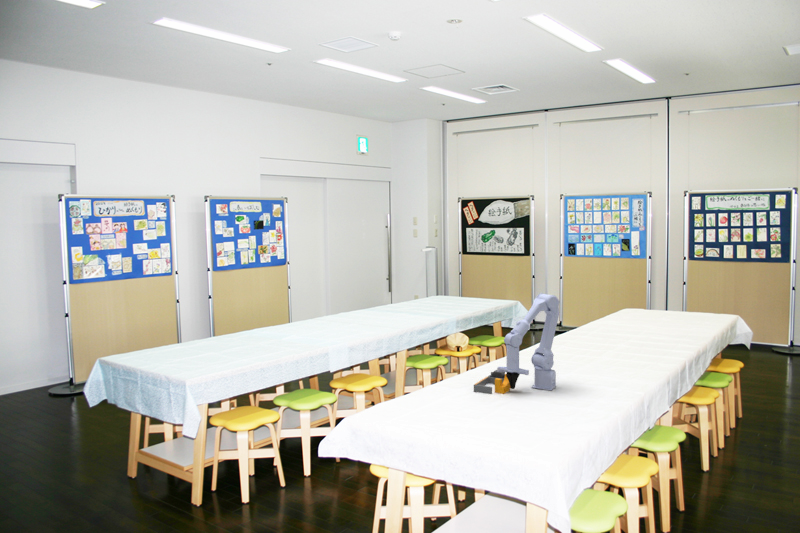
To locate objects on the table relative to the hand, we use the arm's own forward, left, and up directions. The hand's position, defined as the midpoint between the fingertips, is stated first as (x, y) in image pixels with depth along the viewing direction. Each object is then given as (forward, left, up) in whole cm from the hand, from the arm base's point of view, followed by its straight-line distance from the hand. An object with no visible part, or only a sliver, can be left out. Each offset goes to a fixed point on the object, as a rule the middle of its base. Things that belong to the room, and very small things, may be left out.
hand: (512, 388), depth 271 cm
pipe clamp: (+4, 0, -2) cm, 4 cm away
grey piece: (+11, -3, -1) cm, 11 cm away
